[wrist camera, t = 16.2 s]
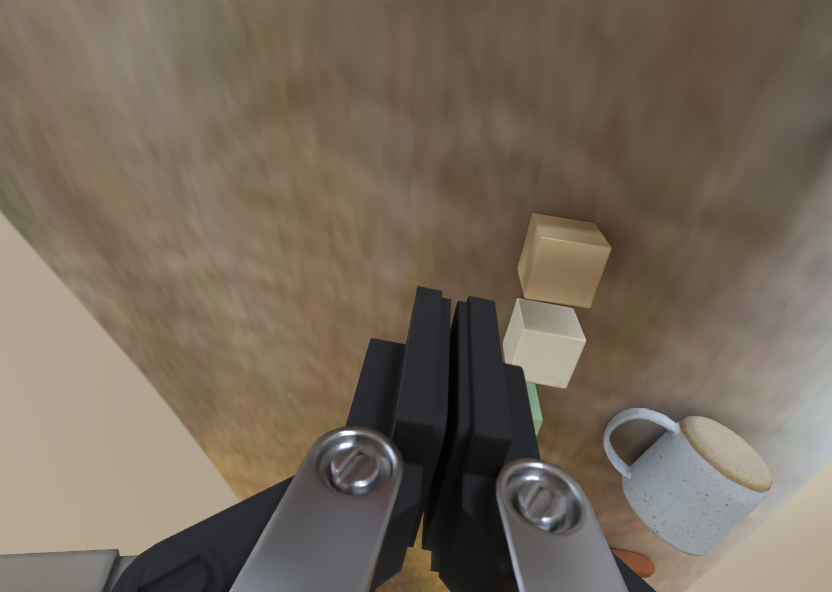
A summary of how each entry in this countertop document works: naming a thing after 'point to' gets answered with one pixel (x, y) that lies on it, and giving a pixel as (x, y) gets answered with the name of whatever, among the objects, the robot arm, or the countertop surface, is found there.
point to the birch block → (562, 260)
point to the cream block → (544, 342)
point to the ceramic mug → (691, 480)
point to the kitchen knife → (636, 562)
